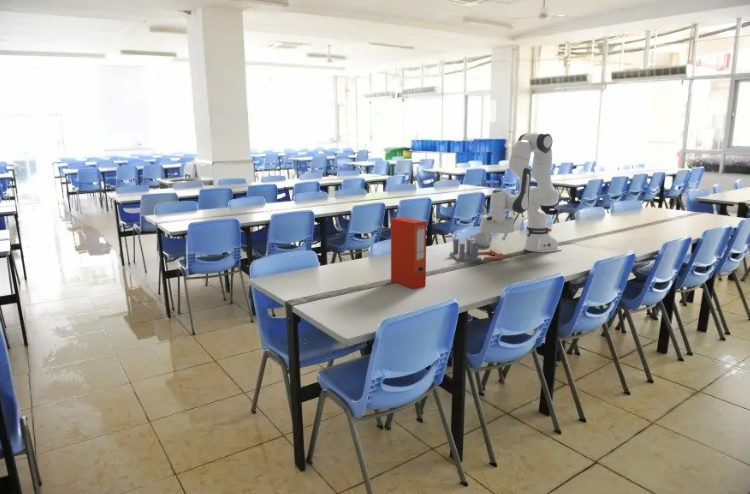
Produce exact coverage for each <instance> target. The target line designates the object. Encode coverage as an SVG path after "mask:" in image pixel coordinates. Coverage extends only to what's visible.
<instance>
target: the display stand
mask: <svg viewBox="0 0 750 494" xmlns="http://www.w3.org/2000/svg"><path fill="white" fill-rule="evenodd" d="M474 241H475V238H473V237H472V238H471V239H470V238H466V244H465V243H464V242H460V240H459V238H453V249H452V252H451V251H450V252H449V256H451V257H452V258H453V259H454V258H455V259H456V260H457V261H456V260H455V259H454V260H455V261H456V262H458V261H461V262H476V261H479V262H480V261H482V257H481V256H479V255H478V252H479V246H478V242H474ZM459 242H460V243H459ZM465 245H466V247H465ZM465 249H466V250H465Z"/></svg>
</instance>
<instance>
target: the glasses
mask: <svg viewBox="0 0 750 494" xmlns="http://www.w3.org/2000/svg"><path fill="white" fill-rule="evenodd" d="M478 254H482V255H491V256H484V258H483V259H484V261H487V260H503V259H504V253H502V252H501V251H500V250H498V249H496V248H490V249H489V250H487V251H478ZM493 255H495V256H493Z"/></svg>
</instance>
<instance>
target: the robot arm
mask: <svg viewBox="0 0 750 494" xmlns="http://www.w3.org/2000/svg"><path fill="white" fill-rule="evenodd" d="M552 147H553V138H552V136H551V134H550V133H547V132H530V133H529V132H527V133H523V134H522V135H520V136H519V137H518V139H517V141H516V142H515V145H514V146H513V149H512V151H511V154H510V157H509V162H508V168H509V169H510V171H511V173H512V174H514V175H516V176H517V177H518V178H519V188H518V194H512V193H509V192H507V191H506V189H504V188H495V189H494V190H492V191H491V196H490V202H489V203H490V204H489V205H490V209H489V213H487V214H484V215H481V220H480V223H479V229H478V230H479V231H478V232H481V233H485V235H486V237H487V240H490V237H488V234H489V233H491V234H504V235H503V236H502V237H501V241H506V238H507V237H508V234H512V233H514V231H515V218H514V217H512V216H506V211H509V212H515V213H517V214H524V213H525V212H527V213H526V214H527V226H526V231H525V232H526V238H525V243H524V247H523V250H525V251H528V252H536V253H549V252H557V251H558V252H560V251H562V248H561V247H560V246H559V243H558V240H557V238H555V236H553V235H552V234H550V233H551V232H552V230H553V229H552V228H550V227H549V228H548V227H547V218H548V216H547V214H546V212H545V211H544V210H542V208H541V206H544V207H547V206H549V207H551V206H555V205H556V204H557V203H558V201H559V200H560V195H559V192H558V190H557V189H556V188H555V187H554V185H553V183H552V182H553V181H552V164H553V163H552V162H553V151H552ZM531 153H533V157H532V158H533V160H532V164H531V165H532V167H531V170H530V167H529V166H530V165H529V164H530V161H531ZM532 178H533V180H534V181H536V183H537V186H533V185H532V186H531V179H532Z"/></svg>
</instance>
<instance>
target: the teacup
mask: <svg viewBox="0 0 750 494" xmlns="http://www.w3.org/2000/svg"><path fill="white" fill-rule="evenodd" d="M469 237H470V238H469V239H471V238H472V239H473V237H474V242H478V247H481V246H487V247H489V246H490V245H491V244H492V241H493V239H492V238H493V233H489V234H488V237H490V240H487V237H486V235H485V233H481V232H480V231H478V232H475V234H471V235H470V236H469Z"/></svg>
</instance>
